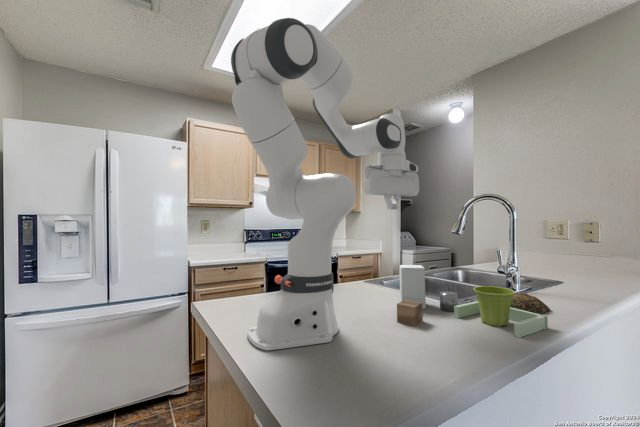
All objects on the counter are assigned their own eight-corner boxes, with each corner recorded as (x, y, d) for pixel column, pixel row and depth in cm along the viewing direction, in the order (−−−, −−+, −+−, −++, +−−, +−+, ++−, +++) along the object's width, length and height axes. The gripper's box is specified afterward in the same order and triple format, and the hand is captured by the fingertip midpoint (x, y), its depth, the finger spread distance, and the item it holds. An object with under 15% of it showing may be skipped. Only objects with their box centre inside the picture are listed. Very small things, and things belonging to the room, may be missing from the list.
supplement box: (426, 309, 91) (425, 268, 91) (401, 308, 92) (400, 267, 93) (422, 302, 98) (422, 264, 98) (399, 302, 100) (399, 264, 100)
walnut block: (415, 326, 76) (414, 307, 76) (397, 322, 80) (396, 303, 80) (422, 321, 80) (422, 303, 80) (405, 317, 83) (405, 300, 84)
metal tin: (450, 313, 87) (450, 296, 87) (436, 309, 91) (436, 292, 91) (461, 310, 89) (461, 294, 89) (447, 306, 93) (447, 290, 94)
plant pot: (517, 331, 72) (515, 295, 72) (473, 325, 76) (472, 291, 77) (515, 320, 80) (514, 288, 80) (475, 315, 84) (474, 284, 85)
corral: (520, 337, 68) (519, 324, 68) (454, 316, 83) (453, 306, 83) (547, 328, 74) (547, 316, 74) (481, 310, 89) (481, 300, 89)
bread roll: (494, 309, 91) (494, 292, 91) (504, 301, 100) (503, 286, 100) (547, 318, 82) (546, 299, 82) (552, 308, 91) (551, 292, 91)
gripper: (371, 162, 88) (372, 208, 87) (422, 167, 97) (423, 209, 97) (359, 165, 93) (360, 209, 93) (408, 170, 103) (409, 209, 102)
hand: (392, 209), depth 95 cm, fingers closed
